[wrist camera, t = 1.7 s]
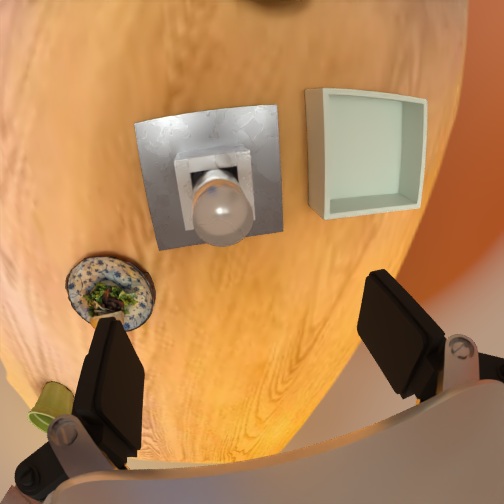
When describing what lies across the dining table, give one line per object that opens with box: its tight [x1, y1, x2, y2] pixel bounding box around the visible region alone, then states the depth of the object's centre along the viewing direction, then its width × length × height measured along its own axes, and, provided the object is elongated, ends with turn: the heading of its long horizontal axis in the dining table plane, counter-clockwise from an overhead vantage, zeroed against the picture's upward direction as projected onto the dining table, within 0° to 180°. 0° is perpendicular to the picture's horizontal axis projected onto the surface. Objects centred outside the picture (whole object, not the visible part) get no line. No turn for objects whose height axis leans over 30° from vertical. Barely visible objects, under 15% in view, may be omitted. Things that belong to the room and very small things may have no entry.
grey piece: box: [174, 144, 255, 247], centre depth 24 cm, size 6×6×11 cm
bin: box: [305, 88, 427, 220], centre depth 28 cm, size 13×13×5 cm
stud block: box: [134, 105, 283, 251], centre depth 27 cm, size 14×14×5 cm
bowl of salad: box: [65, 256, 156, 332], centre depth 30 cm, size 12×12×8 cm
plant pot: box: [27, 382, 73, 433], centre depth 37 cm, size 9×9×9 cm
